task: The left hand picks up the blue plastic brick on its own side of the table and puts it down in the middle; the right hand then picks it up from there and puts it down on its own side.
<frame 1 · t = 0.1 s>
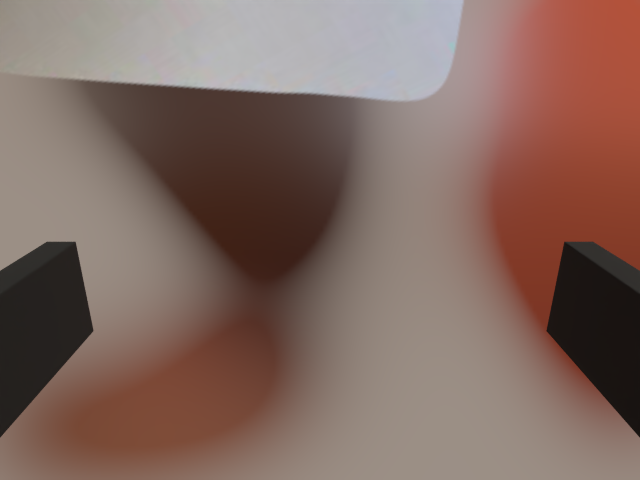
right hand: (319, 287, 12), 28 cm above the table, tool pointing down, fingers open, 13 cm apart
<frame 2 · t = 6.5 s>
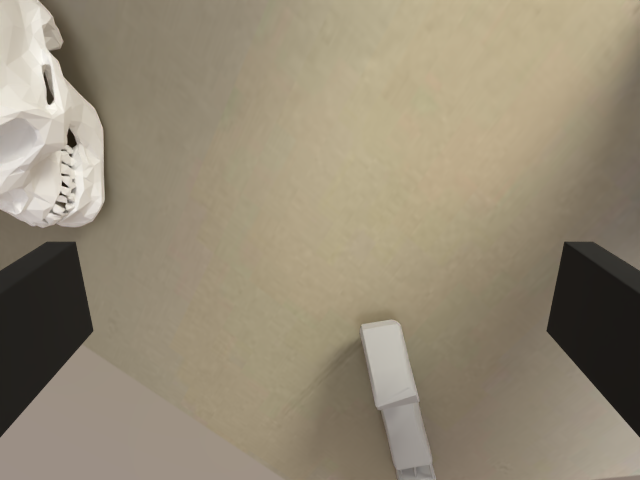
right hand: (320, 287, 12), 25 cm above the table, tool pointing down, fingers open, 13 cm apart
skull: (20, 88, 34), on the table
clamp: (397, 398, 44), on the table
when the left hand's fingers open (3 cm above the table, at t = 16.7 s): brick drops 1 cm, on the table.
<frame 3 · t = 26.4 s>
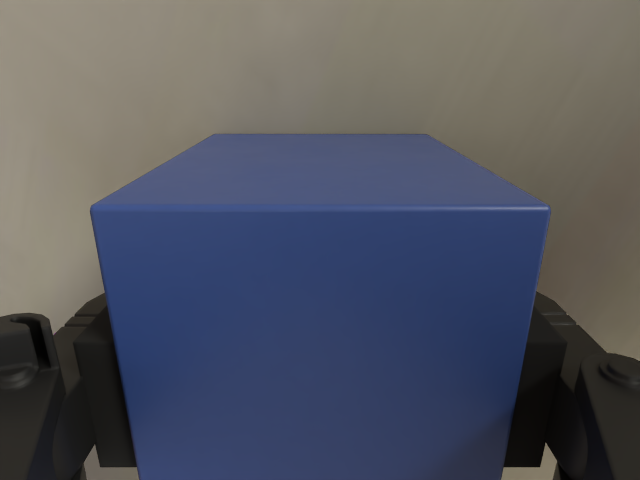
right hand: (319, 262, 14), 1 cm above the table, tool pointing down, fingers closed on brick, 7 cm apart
brick: (320, 244, 15), on the table, touching right hand
when the right hand's fingers open (3 cm above the table, at t = 37.0 s): brick drops 1 cm, on the table.
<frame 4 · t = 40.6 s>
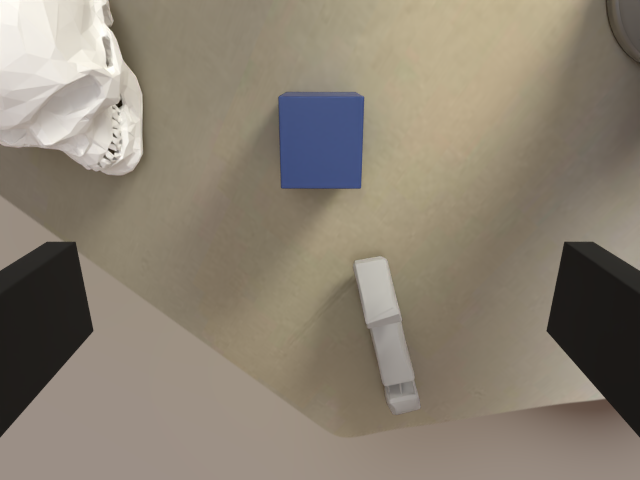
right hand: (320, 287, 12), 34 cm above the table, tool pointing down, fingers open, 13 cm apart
skull: (75, 60, 42), on the table
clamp: (385, 329, 52), on the table
brick: (320, 131, 44), on the table
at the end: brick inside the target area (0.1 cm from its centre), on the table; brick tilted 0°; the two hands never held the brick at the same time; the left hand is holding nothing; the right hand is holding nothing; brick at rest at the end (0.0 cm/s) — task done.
